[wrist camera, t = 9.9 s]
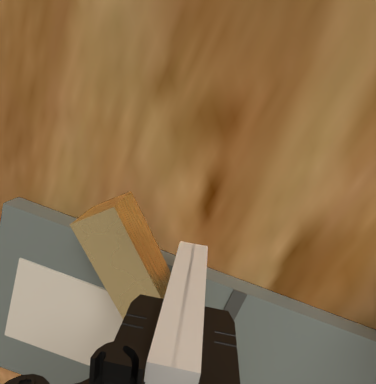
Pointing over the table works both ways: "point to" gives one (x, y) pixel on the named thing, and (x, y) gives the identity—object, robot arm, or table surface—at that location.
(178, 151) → the table surface
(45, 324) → the door board
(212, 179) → the table surface
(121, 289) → the latch bar
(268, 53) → the table surface
